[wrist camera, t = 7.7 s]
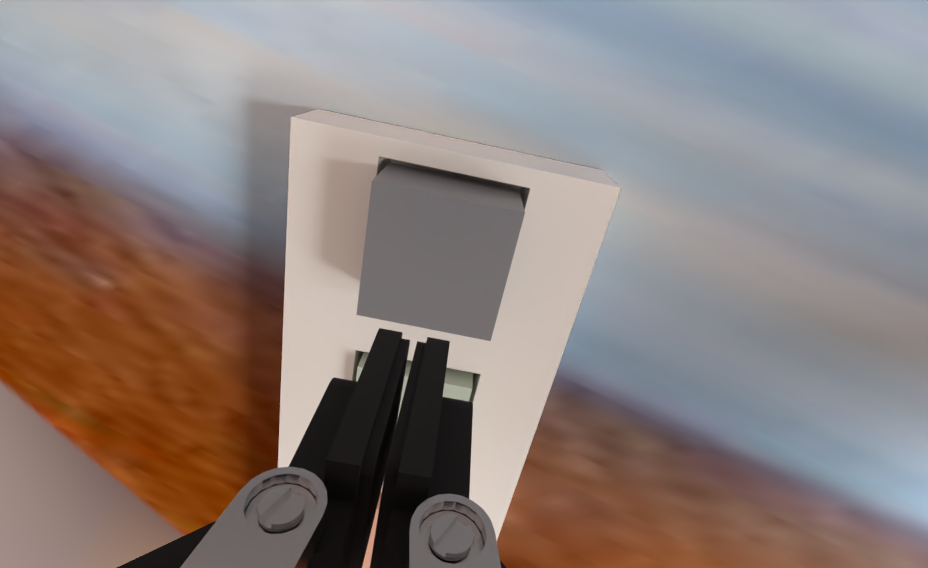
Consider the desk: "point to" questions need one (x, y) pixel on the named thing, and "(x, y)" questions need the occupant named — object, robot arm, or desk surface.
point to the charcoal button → (438, 250)
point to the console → (492, 362)
